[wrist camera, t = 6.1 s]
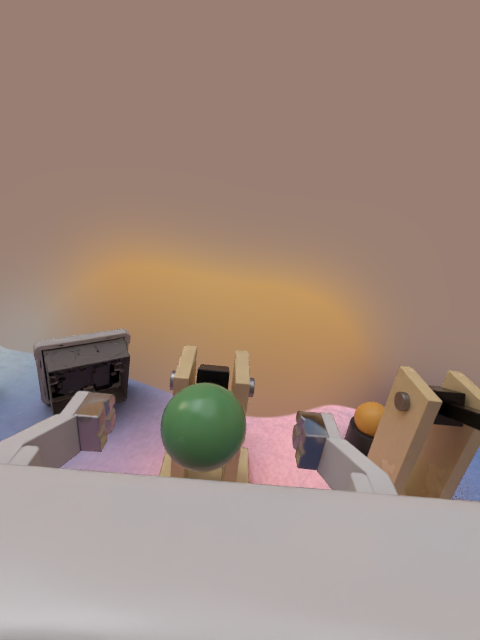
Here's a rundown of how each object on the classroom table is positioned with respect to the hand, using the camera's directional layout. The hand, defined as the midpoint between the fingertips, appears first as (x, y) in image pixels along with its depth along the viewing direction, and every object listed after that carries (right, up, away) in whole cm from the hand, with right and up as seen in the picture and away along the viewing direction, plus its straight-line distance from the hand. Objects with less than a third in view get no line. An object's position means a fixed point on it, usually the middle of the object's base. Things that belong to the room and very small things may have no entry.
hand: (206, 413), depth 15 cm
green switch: (0, -2, +4) cm, 5 cm away
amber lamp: (+15, -10, +22) cm, 28 cm away
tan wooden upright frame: (+15, -13, +15) cm, 25 cm away
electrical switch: (-16, -6, +24) cm, 29 cm away
